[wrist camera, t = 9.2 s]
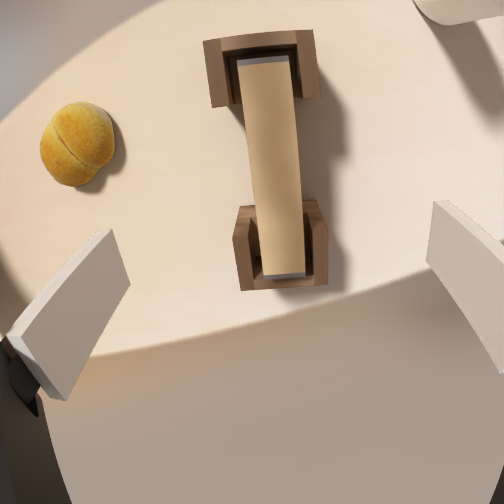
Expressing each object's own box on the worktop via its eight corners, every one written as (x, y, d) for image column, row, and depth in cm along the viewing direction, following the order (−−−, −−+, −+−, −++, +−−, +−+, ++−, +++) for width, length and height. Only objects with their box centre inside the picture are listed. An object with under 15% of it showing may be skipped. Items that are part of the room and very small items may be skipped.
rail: (265, 246, 29) (264, 279, 24) (243, 67, 22) (236, 60, 17) (299, 243, 29) (305, 276, 24) (284, 63, 21) (288, 55, 17)
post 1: (302, 44, 23) (312, 29, 17) (308, 96, 25) (320, 97, 19) (218, 52, 24) (202, 41, 17) (225, 104, 26) (212, 108, 20)
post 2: (246, 251, 33) (240, 290, 27) (240, 206, 31) (232, 238, 25) (317, 245, 32) (327, 284, 26) (315, 200, 30) (327, 230, 24)
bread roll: (132, 141, 28) (114, 149, 25) (80, 192, 31) (61, 205, 27) (88, 83, 25) (66, 84, 21) (41, 139, 28) (19, 147, 24)
